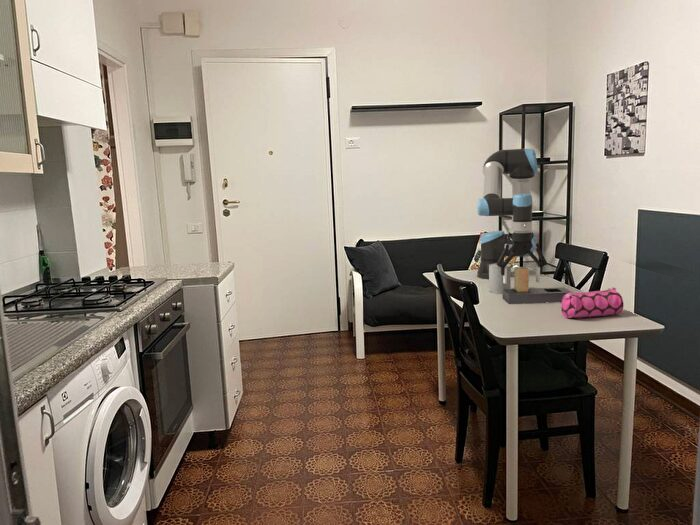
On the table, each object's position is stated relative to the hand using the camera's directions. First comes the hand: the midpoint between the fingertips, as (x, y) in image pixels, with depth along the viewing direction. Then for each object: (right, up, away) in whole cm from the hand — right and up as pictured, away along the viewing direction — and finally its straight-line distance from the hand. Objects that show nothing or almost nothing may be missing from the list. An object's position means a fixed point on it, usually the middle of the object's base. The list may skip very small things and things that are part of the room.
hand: (521, 282), depth 223 cm
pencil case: (+18, -12, -25) cm, 33 cm away
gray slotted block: (+7, -7, +1) cm, 10 cm away
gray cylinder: (-4, -5, +19) cm, 20 cm away
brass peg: (0, -8, +1) cm, 8 cm away
